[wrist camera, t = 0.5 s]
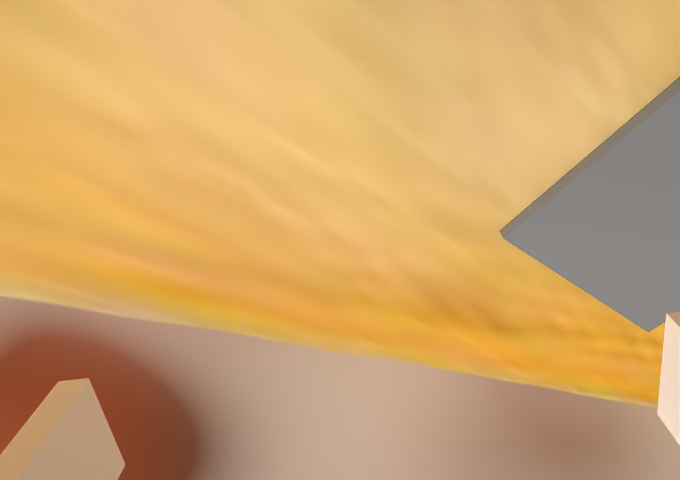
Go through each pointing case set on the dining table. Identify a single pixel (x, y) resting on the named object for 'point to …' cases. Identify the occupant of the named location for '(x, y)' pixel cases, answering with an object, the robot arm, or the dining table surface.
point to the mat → (617, 218)
